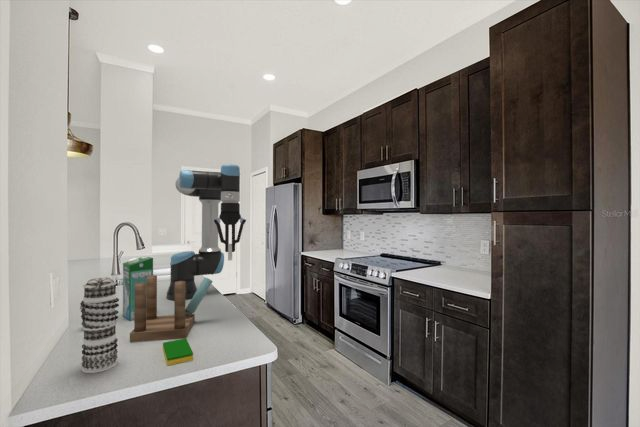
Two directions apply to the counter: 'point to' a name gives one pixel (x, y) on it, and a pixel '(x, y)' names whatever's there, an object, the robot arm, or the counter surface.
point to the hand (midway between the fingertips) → (230, 259)
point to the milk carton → (134, 281)
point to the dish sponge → (177, 351)
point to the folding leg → (199, 295)
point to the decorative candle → (99, 325)
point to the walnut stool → (159, 326)
